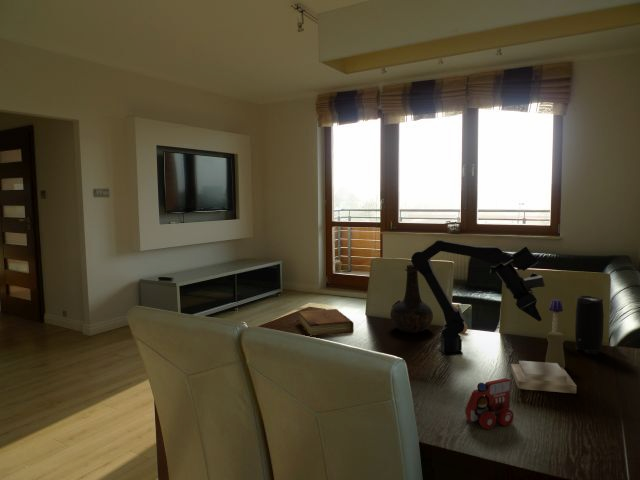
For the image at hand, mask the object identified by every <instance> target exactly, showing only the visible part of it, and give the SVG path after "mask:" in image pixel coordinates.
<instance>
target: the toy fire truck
mask: <svg viewBox="0 0 640 480" xmlns="http://www.w3.org/2000/svg"><path fill="white" fill-rule="evenodd" d="M476 388H477V389H473V391H472V392H471V395H470V397H469V400H468V402H467V404H466V407H465V410H464V412H465V416H466V419H467V420H468V421H469V422H471V423H474V422H479V426H481V427H482V428H483V429H485V430H491V429H493V428H494V427H495V425H496V424H497V423H496V422H498V423H499V424H500V425H501V426H504V427H507V426H510V425H511V424H512V423H513V421H514V417H515V415H514V413H513V411H512V410H511V409H510V402H511V401H510V400H511V399H510V398H511V395H510V394H511V390H512V380H511V379H509V378H507V377H505V378H499V379H494V380H491V381H486V382H485V383H484V382H479V383H477V385H476Z"/></svg>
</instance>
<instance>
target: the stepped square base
mask: <svg viewBox="0 0 640 480" xmlns="http://www.w3.org/2000/svg"><path fill="white" fill-rule="evenodd" d="M510 371H511V374H512V376H513V379H514V381H515V384H516V387H517V389H518V390H527V391H529V390H530V391H542V392H543V391H544V392H552V393H553V392H554V393H555V392H557V393H567V394H577V384H576V383H575V382H574V380H573V379H572V378H571V376H570V375H569V374H568V373H567V371H566V370H565V368H563V367H560V366H559V365H558V364H557V363H546V362H545V361H544V362H543V361H529V360H518V363H511V364H510Z"/></svg>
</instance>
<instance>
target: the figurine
mask: <svg viewBox="0 0 640 480" xmlns="http://www.w3.org/2000/svg"><path fill="white" fill-rule="evenodd" d="M453 306H454V307H455V308H456V309H458V308H459V307H460V304H457V305H453ZM460 308H461V307H460ZM467 331H468V325H467V324H466V323H465V327H464V330H463V331H462V332H461V333H460V334H464V333H466V332H467Z"/></svg>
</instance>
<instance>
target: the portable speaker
mask: <svg viewBox="0 0 640 480" xmlns="http://www.w3.org/2000/svg"><path fill="white" fill-rule="evenodd" d="M604 313H605V312H604V300H603V298H602V297H595V296H591V295H579V296H578V297H577V300H576V307H575V321H574V322H575V325H574V326H575V327H574V329H575V330H574V331H575V336H574V337H575V350H576V351H579V350H580V351H582V352H584V353H585V354H587V355H598V354H599V353H600V352H601V351H602V346H603V340H604V339H603V338H604V323H605V322H604V317H605V314H604Z"/></svg>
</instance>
